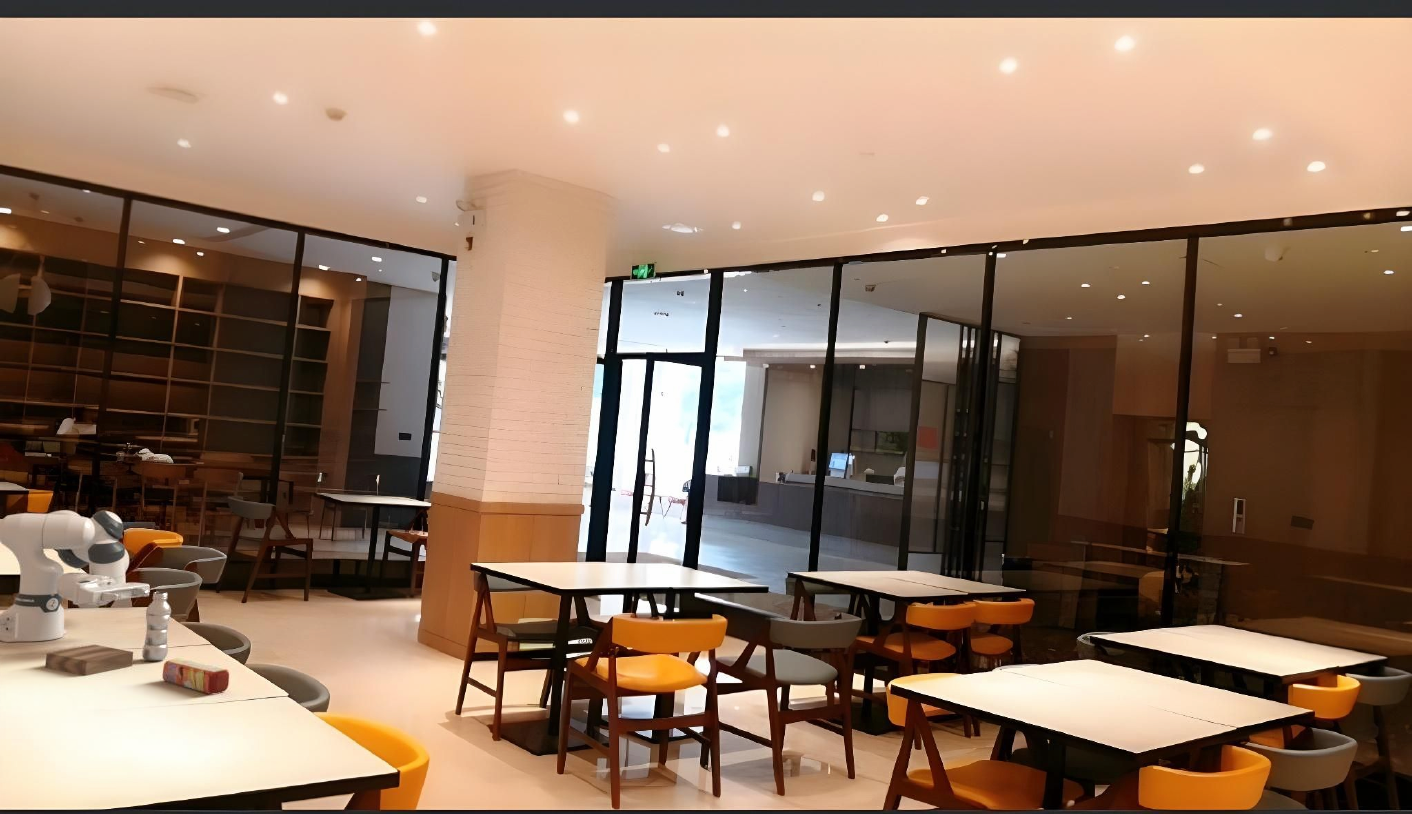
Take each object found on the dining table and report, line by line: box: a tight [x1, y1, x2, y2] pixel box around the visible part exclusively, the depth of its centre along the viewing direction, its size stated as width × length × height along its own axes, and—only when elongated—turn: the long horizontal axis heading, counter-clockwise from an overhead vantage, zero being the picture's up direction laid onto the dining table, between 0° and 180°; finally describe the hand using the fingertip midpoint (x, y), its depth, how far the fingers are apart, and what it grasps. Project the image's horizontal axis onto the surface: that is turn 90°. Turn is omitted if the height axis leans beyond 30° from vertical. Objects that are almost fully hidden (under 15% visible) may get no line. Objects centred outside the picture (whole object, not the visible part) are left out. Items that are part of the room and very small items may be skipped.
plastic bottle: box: [141, 591, 172, 662], centre depth 280 cm, size 6×7×20 cm
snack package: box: [162, 657, 230, 695], centre depth 255 cm, size 21×7×7 cm, turn 61°
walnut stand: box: [45, 644, 134, 676], centre depth 268 cm, size 16×14×4 cm
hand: (133, 595), depth 285 cm, fingers open, 8 cm apart
